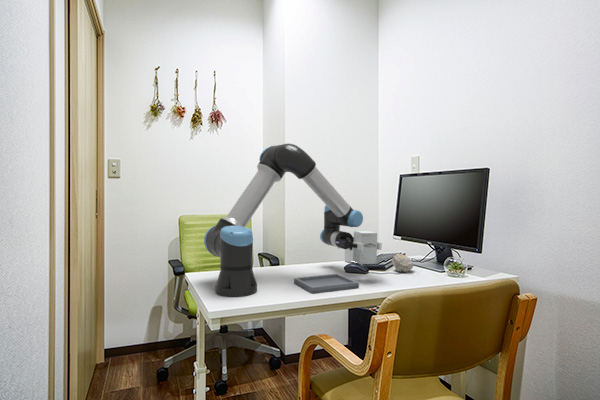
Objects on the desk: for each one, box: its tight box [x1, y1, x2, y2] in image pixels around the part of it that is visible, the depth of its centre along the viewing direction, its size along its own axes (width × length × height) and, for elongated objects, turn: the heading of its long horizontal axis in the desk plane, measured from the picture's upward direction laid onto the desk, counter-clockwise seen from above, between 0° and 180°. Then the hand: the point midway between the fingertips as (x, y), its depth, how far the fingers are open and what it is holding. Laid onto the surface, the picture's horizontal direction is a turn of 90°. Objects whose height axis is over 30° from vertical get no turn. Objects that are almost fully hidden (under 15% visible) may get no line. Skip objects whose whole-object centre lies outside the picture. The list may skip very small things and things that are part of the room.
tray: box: [293, 273, 360, 295], centre depth 147 cm, size 20×16×2 cm
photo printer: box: [344, 247, 353, 263], centre depth 195 cm, size 10×4×12 cm, turn 39°
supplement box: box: [353, 230, 378, 265], centre depth 155 cm, size 7×7×13 cm
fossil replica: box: [391, 252, 415, 273], centre depth 176 cm, size 12×8×10 cm
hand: (371, 246), depth 150 cm, fingers closed on supplement box, 8 cm apart
